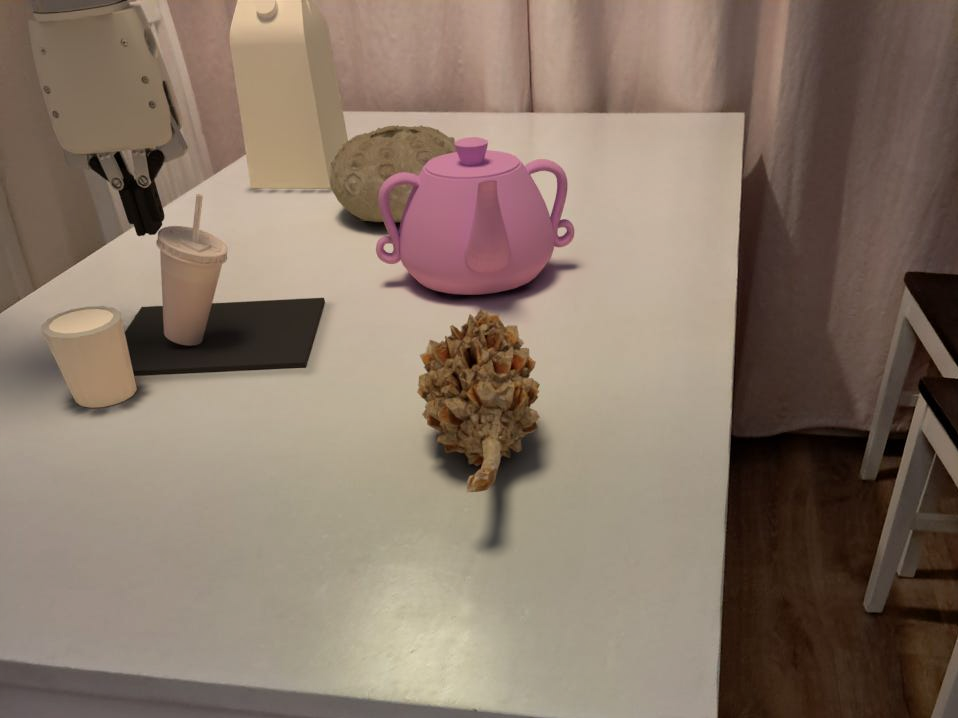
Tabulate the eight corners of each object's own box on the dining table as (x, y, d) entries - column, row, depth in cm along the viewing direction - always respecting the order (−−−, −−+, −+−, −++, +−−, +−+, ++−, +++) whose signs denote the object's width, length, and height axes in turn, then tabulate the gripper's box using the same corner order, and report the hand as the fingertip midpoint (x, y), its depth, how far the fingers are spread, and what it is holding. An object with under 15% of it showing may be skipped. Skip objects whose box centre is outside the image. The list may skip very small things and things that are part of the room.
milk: (352, 165, 140) (325, -47, 123) (330, 188, 132) (297, -36, 114) (277, 165, 142) (240, -44, 125) (250, 187, 134) (207, -33, 116)
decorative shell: (324, 204, 126) (311, 122, 119) (448, 186, 130) (442, 105, 123) (351, 244, 113) (339, 155, 107) (488, 223, 117) (485, 136, 110)
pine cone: (417, 408, 81) (406, 296, 74) (526, 398, 81) (524, 285, 75) (435, 557, 64) (423, 429, 58) (571, 543, 65) (574, 414, 58)
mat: (98, 377, 89) (97, 372, 88) (142, 311, 100) (141, 306, 100) (305, 367, 88) (304, 362, 88) (325, 301, 100) (324, 297, 100)
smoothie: (155, 349, 89) (168, 201, 80) (144, 317, 92) (155, 172, 84) (222, 355, 92) (241, 213, 83) (208, 323, 96) (225, 185, 87)
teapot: (390, 334, 93) (373, 187, 84) (374, 259, 109) (359, 129, 100) (602, 310, 95) (609, 164, 86) (556, 240, 111) (557, 111, 102)
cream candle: (147, 372, 89) (125, 300, 84) (139, 405, 84) (116, 331, 79) (74, 381, 88) (47, 309, 83) (62, 415, 83) (33, 340, 78)
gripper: (179, -25, 76) (237, 210, 88) (2, -6, 76) (84, 224, 89) (156, -12, 70) (221, 237, 82) (-34, 8, 71) (58, 252, 83)
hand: (150, 230), depth 85 cm, fingers closed
